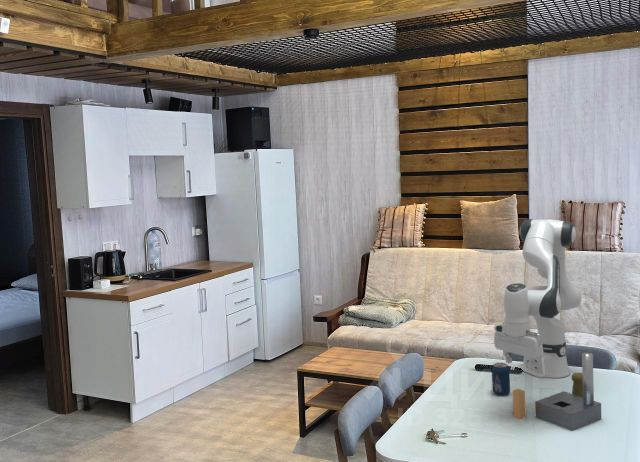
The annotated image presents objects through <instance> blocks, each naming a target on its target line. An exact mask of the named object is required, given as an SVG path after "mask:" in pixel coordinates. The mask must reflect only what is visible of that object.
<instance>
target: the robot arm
mask: <svg viewBox="0 0 640 462" xmlns="http://www.w3.org/2000/svg"><path fill="white" fill-rule="evenodd" d="M519 236H520V237H519V238H520V240H521V241H522V242H523V247H522V256H523V259H524V260H525V262H527V264H528V265H530V266H532V267H533V268H534V269H537V273H538V275H539V276H540V277H541V278H543V279H545V280H547V285H537V286H534V285H533V286H530V287H528V286H527V285H526V284H523V283H520V282H519V283H511V284H509V285H507V286H505V289H504V298H503V299H504V300H503V306H504V307H503V309H504V310H503V311H504V312H505V317H504V322H502V323H499V324H496V325H494V327H493V329H494V335H493V343H494V347H495V348H496V349H497V350H499V351H502V354H503V356H504V358H505V364H512V363H513V358H512V357H511V356H510V353H511V354H514V355H517V356H518V355H519V356H522V357H523V361H522V362H523V363H521V364H519V365H518V367H517V369H518V368H521V369H522V370H523V372H525V373H526V374H530V375H532V376H534V377H536V378H539V379H540V378H541V379H542V378H543V379H545V378H551V379H555V378H556V379H557V378H560V379H561V378H564V377H568V376H569V375H570V374H571V372H570V369H569V365H568V360H567V359H568V358H567V342H566V336H565V335H566V330H565V329H566V328H565V324H564V323H563V321H562V320H560V319H558V318H556V316H558V314H560V312H561V311H569V310H572V309H575V308H578V307H579V306H580V304H581V302H582V293H581V291H580V289H579V288H578V287H577V286H576V285H574V284H573V283H572V282H571V281H570V280H569V278H568V276H567V273H566V248H567V247H570V246H571V245H572V244H574V242H575V240H576V237H577V231H576V225H574V223H573V222H571V221H568V220H564V221H563V220H559V219H550V218H547V219H533V218H532V219H531V218H529V219H525V220H524V221H522V222H521V226H520V228H519ZM530 317H533V318H534V321H535V323H536V327H537V332H534V331H531V320H530ZM522 370H521V371H522Z"/></svg>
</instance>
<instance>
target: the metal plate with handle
mask: <svg viewBox="0 0 640 462" xmlns="http://www.w3.org/2000/svg"><path fill="white" fill-rule="evenodd" d="M581 367H582V368H581V369H582V370H581V371H582V372H581V373H582V375H583V397H580V396H577V395H574V394H572V392H571V393H570V392H567V391H564V390H563V391H560V392H558V393H555V394H552V395H550V396H547V397H544V398H541V399H539V400H535V402H534V407H535V408H534V409H535V412H534V413H535V418H537V419H539V420H542V421H545V422H548V423H551V424H553V425H556V426H558V427H561V428H563V429H564V428H565V429H567V430H570V431H571V432H573V431H575V430H578V429H580V428H583V427H586V426H588V425H590V424H593V423H595V422H599V421H600V420H602V403H601V402H599V401H596V400H595V397H594V396H595V393H594V392H595V391H594V390H595V389H594V386H595V385H594V353H591V352H582V353H581Z"/></svg>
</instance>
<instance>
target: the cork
mask: <svg viewBox="0 0 640 462" xmlns="http://www.w3.org/2000/svg"><path fill="white" fill-rule="evenodd" d="M571 380H572V390H571V394H574V395H577V396H580V397H583V375H582V372H573V373H572V374H571Z"/></svg>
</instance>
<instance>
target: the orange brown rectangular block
mask: <svg viewBox="0 0 640 462" xmlns="http://www.w3.org/2000/svg"><path fill="white" fill-rule="evenodd" d="M512 404H513V405H512V406H513V407H512V408H513V418H516V419H519V420H521V419H524V418H526V416H527V415H526V391H525V390H523V389H521V388H516V389H513V390H512Z"/></svg>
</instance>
